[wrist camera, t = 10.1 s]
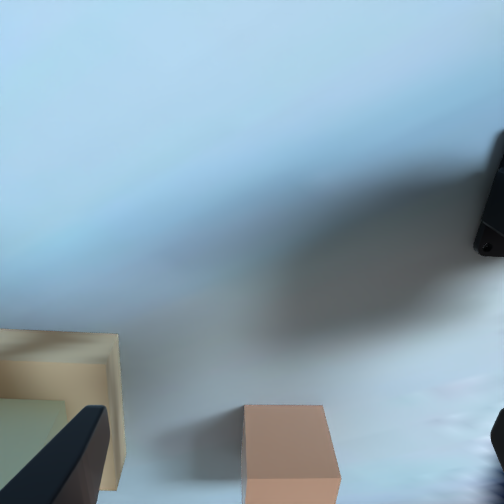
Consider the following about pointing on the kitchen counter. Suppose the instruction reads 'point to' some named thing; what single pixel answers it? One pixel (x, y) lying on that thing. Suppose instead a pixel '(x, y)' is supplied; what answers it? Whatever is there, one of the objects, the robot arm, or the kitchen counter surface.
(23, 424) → the sage cube
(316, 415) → the terracotta cube
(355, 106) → the kitchen counter surface
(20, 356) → the oak block
